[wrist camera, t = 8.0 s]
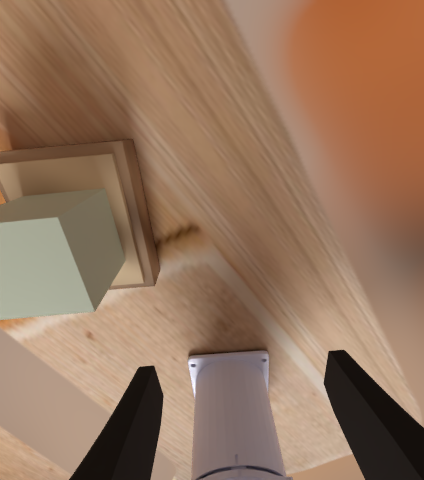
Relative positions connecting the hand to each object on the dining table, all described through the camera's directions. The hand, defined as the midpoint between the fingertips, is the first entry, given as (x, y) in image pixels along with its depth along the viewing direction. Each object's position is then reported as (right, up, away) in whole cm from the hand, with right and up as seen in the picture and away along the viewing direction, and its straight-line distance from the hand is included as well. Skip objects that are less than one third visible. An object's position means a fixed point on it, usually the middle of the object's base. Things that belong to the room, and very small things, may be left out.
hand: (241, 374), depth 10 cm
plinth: (-10, +7, +8) cm, 15 cm away
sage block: (-10, +6, +5) cm, 13 cm away
